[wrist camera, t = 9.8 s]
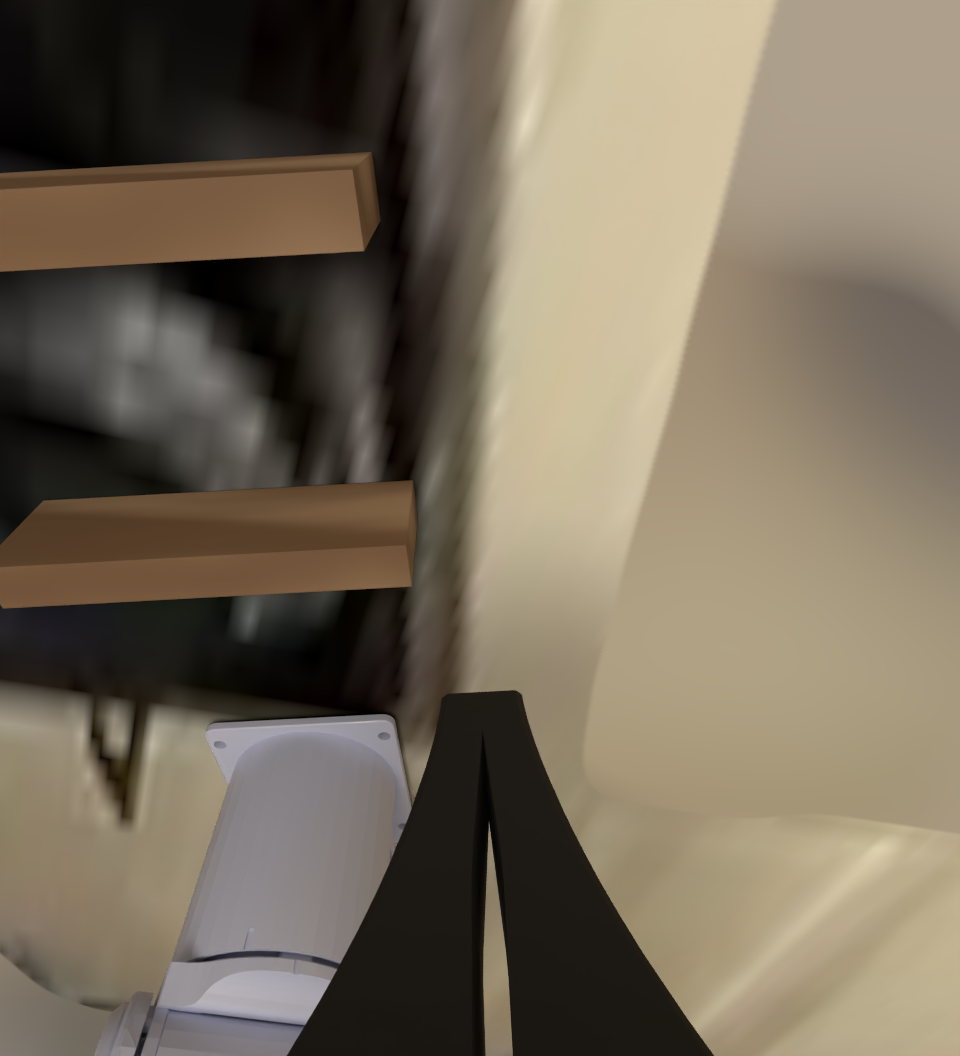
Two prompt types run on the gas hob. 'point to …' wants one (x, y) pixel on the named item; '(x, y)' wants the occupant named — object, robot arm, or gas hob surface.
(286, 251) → the chute
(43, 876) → the gas hob surface
